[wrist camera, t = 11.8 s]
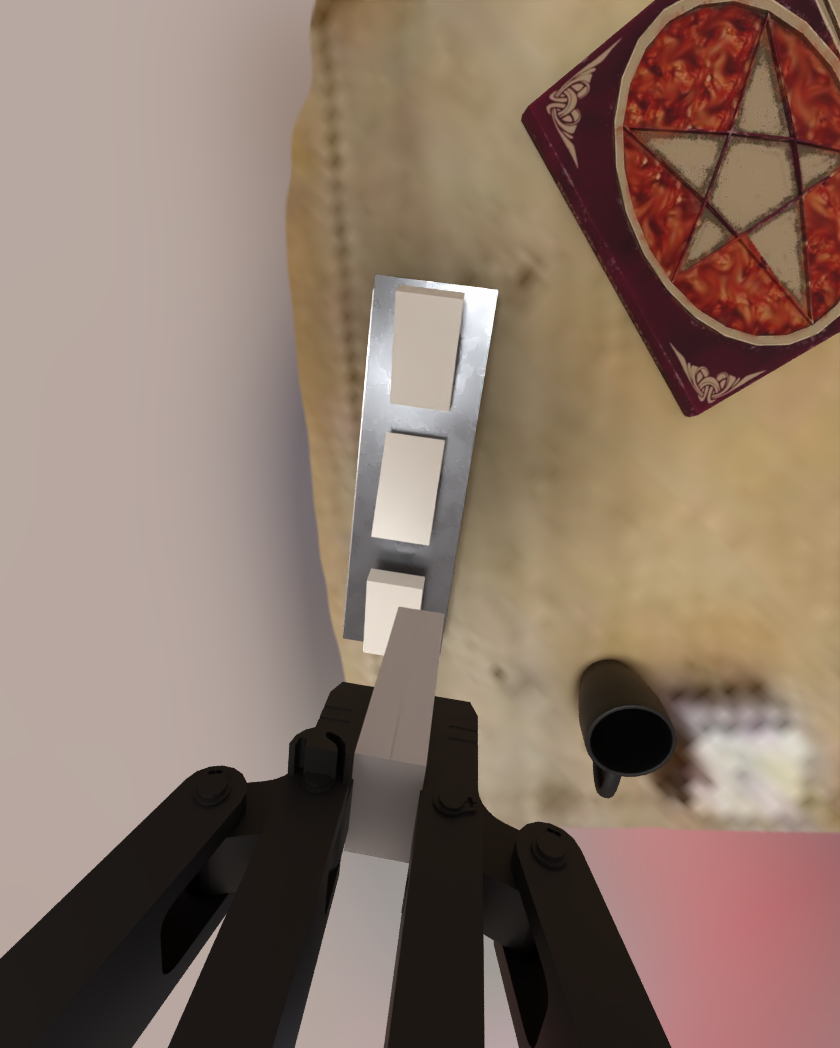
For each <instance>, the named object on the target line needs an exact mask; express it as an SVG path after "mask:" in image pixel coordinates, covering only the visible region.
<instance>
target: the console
mask: <svg viewBox="0 0 840 1048" xmlns="http://www.w3.org/2000/svg"><path fill="white" fill-rule="evenodd" d="M399 285H408V286H416V287H423V288H431V289H439V290H447V291H455V292H463V293H465V297H464V305H463V313H462V320H461V328H460V334H461V342H460V349H459V356H458V362H457V368H455V374H454V382H453V390H452V397H451V404H450V409H449V412H446V411H439V410H432V409H425V408H417V407H410V406H403V405H396V404H390V391H391V372H392V348H393V333H394V314H395V294H396V290H397V288H398V286H399ZM497 295H498V290H493V289H485V288H477V287H469V286H462V285H454V284H446V283H438V282H430V281H422V280H414V279H406V278H398V277H390V276H383V275H376V276H375V287H374V288H373V294H372V305H371V317H370V328H369V339H368V350H367V362H366V373H365V384H364V396H363V407H362V418H361V429H360V441H359V452H358V463H357V475H356V486H355V497H354V508H353V520H352V531H351V542H350V554H349V565H348V576H347V587H346V599H345V610H344V621H343V627H344V634H343V638H345V639H351V640H357V641H363V642H364V625H365V607H366V588H367V579H368V576H369V573H370V570H371V568H372V569H378V570H385V571H391V572H397V573H404V574H410V575H416V576H423V577H425V582H424V589H423V597H422V600H424V601H423V609H422V610H424V611H430V612H436V613H442V614H444V622H443V631H442V639H443V633H444V627H445V620H446V614H447V608H448V602H449V595H450V589H451V583H452V577H453V570H454V564H455V558H456V552H457V545H458V539H459V533H460V526H461V520H462V514H463V508H464V501H465V495H466V489H467V483H468V476H469V470H470V464H471V458H472V451H473V445H474V439H475V433H476V426H477V420H478V414H479V408H480V401H481V395H482V389H483V383H484V376H485V370H486V364H487V358H488V351H489V345H490V339H491V333H492V326H493V320H494V314H495V308H496V301H497ZM386 432H390V433H397V434H404V435H411V436H418V437H425V438H432V439H439V440H445V446H444V453H443V459H442V466H441V473H440V479H441V482H440V489H439V496H438V502H437V508H435V512H434V519H433V526H432V532H431V539H430V544H429V546H428V545H422V544H415V543H409V542H402V541H396V540H389V539H383V538H376V537H371V535H372V528H373V521H374V514H375V507H376V500H377V493H378V484H379V478H380V472H381V465H382V458H383V451H384V444H385V437H386ZM442 639H441V645H442ZM440 652H441V647H440Z"/></svg>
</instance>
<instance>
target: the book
mask: <svg viewBox="0 0 840 1048" xmlns="http://www.w3.org/2000/svg"><path fill="white" fill-rule="evenodd" d="M521 121H522V122H523V124H524V126H525V128H526V130H527V132H528V133H529V135H530V137H531V139H532V141H533V142H534V144H535V146H536V148H537V150H538V151H539V153H540V155H541V157H542V159H543V160H544V162H545V164H546V166H547V168H548V169H549V171H550V173H551V175H552V177H553V178H554V180H555V182H556V184H557V186H558V188H559V189H560V191H561V193H562V195H563V197H564V198H565V200H566V202H567V204H568V206H569V207H570V209H571V211H572V213H573V215H574V216H575V218H576V220H577V222H578V224H579V225H580V227H581V229H582V231H583V233H584V234H585V236H586V238H587V240H588V242H589V243H590V245H591V247H592V249H593V251H594V253H595V254H596V256H597V258H598V260H599V262H600V263H601V265H602V267H603V269H604V271H605V272H606V274H607V276H608V278H609V280H610V281H611V283H612V285H613V287H614V289H615V290H616V292H617V294H618V296H619V298H620V299H621V301H622V303H623V305H624V307H625V309H626V310H627V312H628V314H629V316H630V318H631V319H632V321H633V323H634V325H635V327H636V328H637V330H638V332H639V334H640V336H641V337H642V339H643V341H644V343H645V345H646V346H647V348H648V350H649V352H650V354H651V355H652V357H653V359H654V361H655V363H656V365H657V366H658V368H659V370H660V372H661V374H662V375H663V377H664V379H665V381H666V383H667V384H668V386H669V388H670V390H671V392H672V393H673V395H674V397H675V399H676V401H677V402H678V404H679V406H680V408H681V410H682V411H683V413H684V415H685V416H687V417H692V416H696V415H699V414H700V413H702V412H704V411H706V410H707V409H709V408H711V407H712V406H714V405H716V404H717V403H719V402H721V401H723V400H724V399H726V398H728V397H729V396H731V395H733V394H735V393H736V392H738V391H740V390H741V389H743V388H745V387H746V386H748V385H750V384H752V383H753V382H755V381H757V380H758V379H760V378H762V377H763V376H765V375H767V374H769V373H770V372H772V371H774V370H775V369H777V368H779V367H781V366H782V365H784V364H786V363H787V362H789V361H791V360H792V359H794V358H796V357H798V356H799V355H801V354H803V353H804V352H806V351H808V350H810V349H811V348H813V347H815V346H816V345H818V344H820V343H821V342H823V341H825V340H827V339H828V338H830V337H832V336H833V335H835V334H837V333H839V332H840V0H655V1H654V2H652V3H651V4H650V5H649V6H648V7H646V8H645V9H644V10H643V11H642V12H640V13H639V14H638V15H637V16H636V17H634V18H633V19H632V20H631V21H630V22H628V23H627V24H626V25H625V26H624V27H622V28H621V29H620V30H619V31H618V32H616V33H615V34H614V35H613V36H612V37H610V38H609V39H608V40H607V41H606V42H605V43H603V44H602V45H601V46H600V47H599V48H597V49H596V50H595V51H594V52H593V53H591V54H590V55H589V56H588V57H587V58H585V59H584V60H583V61H582V62H581V63H579V64H578V65H577V66H576V67H575V68H573V69H572V70H571V71H570V72H569V73H567V74H566V75H565V76H564V77H563V78H561V79H560V80H559V81H558V82H557V83H555V84H554V85H553V86H552V87H551V88H549V89H548V90H547V91H546V92H545V93H543V94H542V95H541V96H540V97H539V98H538V99H536V100H535V101H534V102H533V103H532V104H530V105H529V106H528V107H527V109H526V110H525V112H524V113H523V114H522V119H521Z"/></svg>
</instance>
